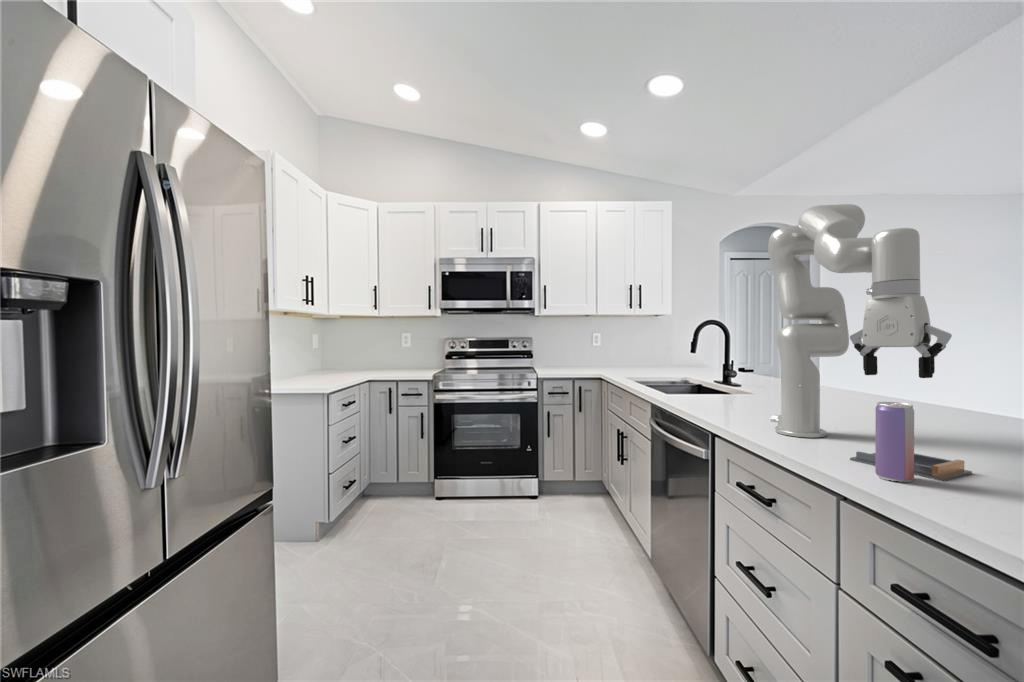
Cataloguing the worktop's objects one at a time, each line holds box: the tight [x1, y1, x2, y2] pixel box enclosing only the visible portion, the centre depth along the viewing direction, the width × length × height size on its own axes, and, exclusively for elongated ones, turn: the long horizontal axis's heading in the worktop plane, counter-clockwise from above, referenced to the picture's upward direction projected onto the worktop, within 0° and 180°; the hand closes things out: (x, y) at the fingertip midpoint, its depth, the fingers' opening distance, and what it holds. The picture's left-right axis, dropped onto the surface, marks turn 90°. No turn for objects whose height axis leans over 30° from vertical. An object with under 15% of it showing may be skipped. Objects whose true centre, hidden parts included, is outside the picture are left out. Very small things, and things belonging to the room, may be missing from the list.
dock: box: [849, 451, 973, 482], centre depth 101 cm, size 17×11×2 cm, turn 24°
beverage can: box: [874, 401, 915, 483], centre depth 93 cm, size 6×6×15 cm
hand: (897, 376), depth 94 cm, fingers open, 9 cm apart
